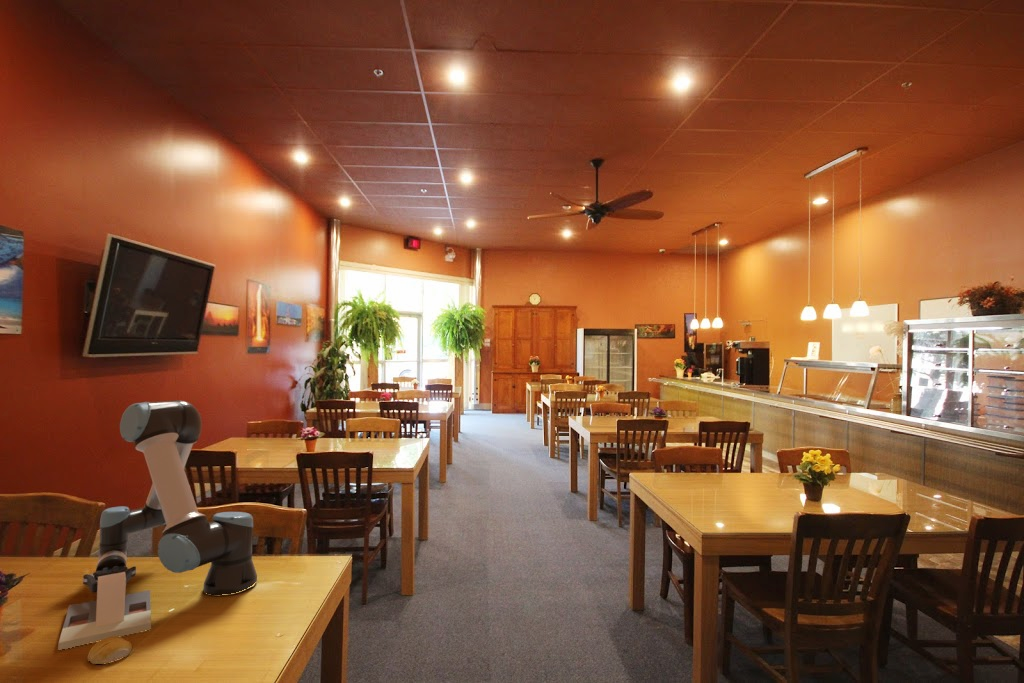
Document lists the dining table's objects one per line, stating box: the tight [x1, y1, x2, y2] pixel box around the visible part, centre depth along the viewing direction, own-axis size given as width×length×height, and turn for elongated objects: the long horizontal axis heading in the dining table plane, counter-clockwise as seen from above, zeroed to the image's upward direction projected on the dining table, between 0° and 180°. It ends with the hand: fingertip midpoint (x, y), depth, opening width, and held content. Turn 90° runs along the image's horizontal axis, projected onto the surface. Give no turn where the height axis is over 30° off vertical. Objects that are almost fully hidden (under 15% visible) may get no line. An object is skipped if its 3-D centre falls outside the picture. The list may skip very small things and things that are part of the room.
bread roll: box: [87, 636, 133, 665], centre depth 130 cm, size 8×9×4 cm
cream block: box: [96, 572, 127, 627], centre depth 144 cm, size 6×6×11 cm
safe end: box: [57, 609, 152, 651], centre depth 140 cm, size 8×19×2 cm, turn 125°
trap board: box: [62, 589, 152, 629], centre depth 150 cm, size 16×19×2 cm
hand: (106, 595), depth 146 cm, fingers closed
